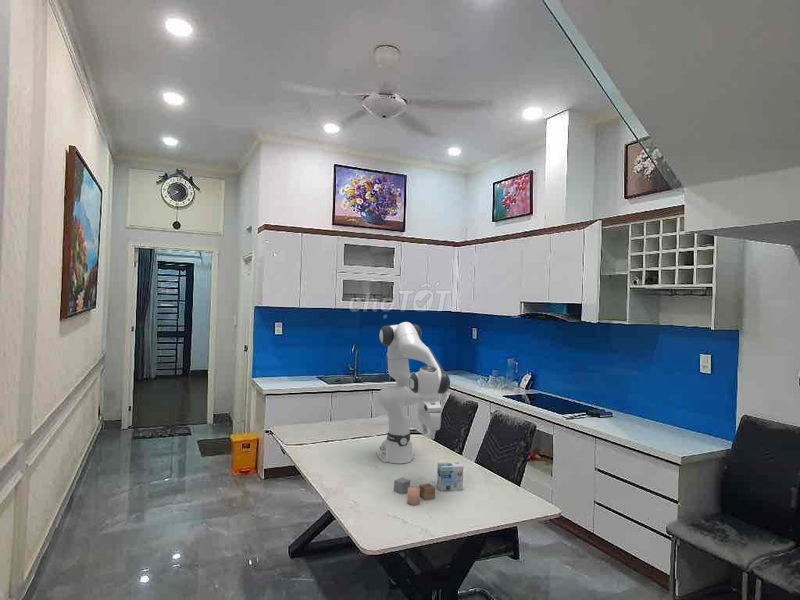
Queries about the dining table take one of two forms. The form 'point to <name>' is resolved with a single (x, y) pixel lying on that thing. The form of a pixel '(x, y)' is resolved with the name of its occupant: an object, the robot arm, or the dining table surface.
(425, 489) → the walnut cube
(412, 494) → the cylinder
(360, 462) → the dining table surface
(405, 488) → the slate cube
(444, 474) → the light bulb box
